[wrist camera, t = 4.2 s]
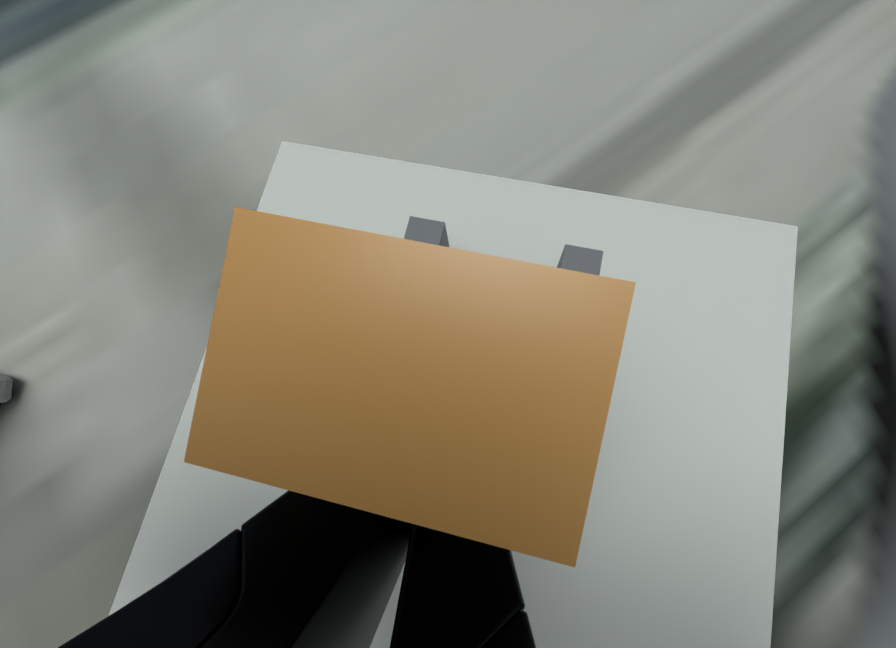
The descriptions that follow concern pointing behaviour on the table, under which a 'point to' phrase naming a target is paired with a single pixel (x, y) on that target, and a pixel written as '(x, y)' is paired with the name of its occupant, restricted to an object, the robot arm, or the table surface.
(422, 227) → the thin white panel
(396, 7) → the table surface
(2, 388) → the electrical switch
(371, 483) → the handle
